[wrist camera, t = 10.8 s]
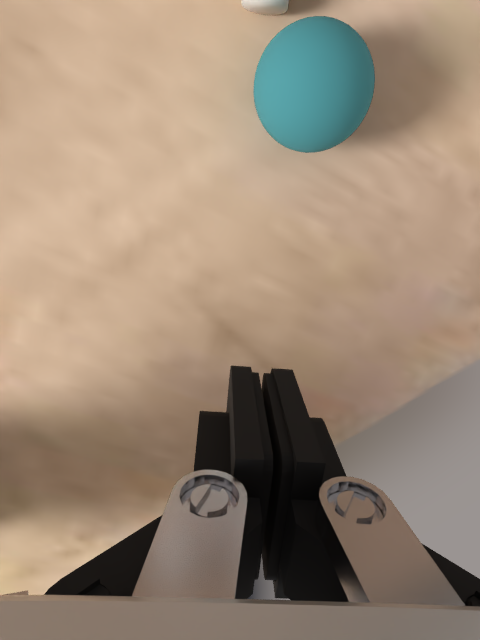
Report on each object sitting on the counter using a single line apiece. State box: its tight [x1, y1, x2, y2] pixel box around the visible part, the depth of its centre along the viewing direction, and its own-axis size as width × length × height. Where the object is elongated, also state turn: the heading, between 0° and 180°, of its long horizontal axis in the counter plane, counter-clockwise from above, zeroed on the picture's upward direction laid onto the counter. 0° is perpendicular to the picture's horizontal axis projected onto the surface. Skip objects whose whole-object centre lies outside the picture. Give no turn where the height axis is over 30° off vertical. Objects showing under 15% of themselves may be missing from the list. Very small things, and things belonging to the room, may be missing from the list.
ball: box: [254, 16, 375, 153], centre depth 21 cm, size 6×6×6 cm
